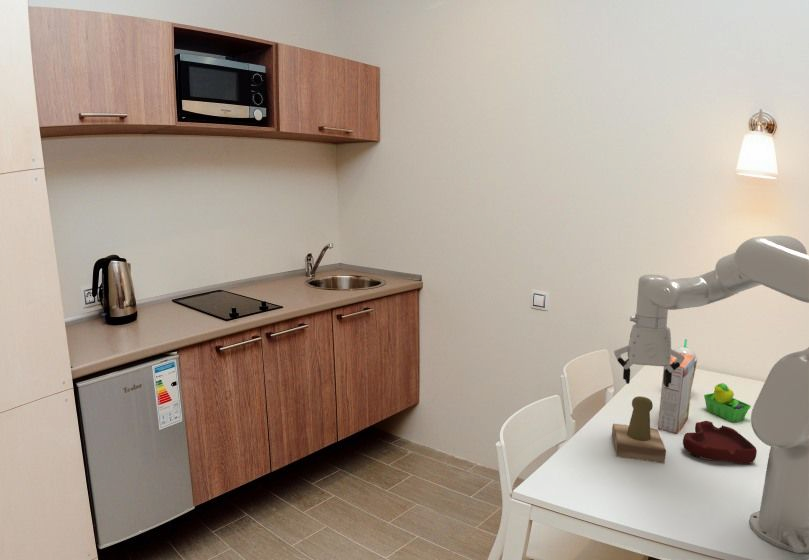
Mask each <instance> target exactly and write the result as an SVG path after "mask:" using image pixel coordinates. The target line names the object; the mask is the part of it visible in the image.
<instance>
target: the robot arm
mask: <svg viewBox="0 0 809 560" xmlns="http://www.w3.org/2000/svg"><path fill="white" fill-rule="evenodd" d="M637 284H638V285H637V298H636V300H637V301H636V313H635V315H633V316H629V321H630V322H633V323H634V324H633V325H632V327H631V331H630V334H629V340H628V345H626V346H624V347H620V348H618V349H615V350H613V354H614V357H615V358H616V360H617V362H618V364H620V366H622V367H623V373H622V379H623V380H625V383H626V384H627V385H629V384H630V381H631V368H630V367H632V365H640V366H649V367H650V366H652V367H653V366H654V367H664V366H665V367H666V369H665V370H664V369H663V371H664V381H663V380H662V381H663V383H664V385H665V386H666V387H669V383H671V378H672V373H673V372H674V370H676V369H677V368H678V367H679V366H680V364H681V363H682V362H683V360H684V359H685V357H684V356H683V355H681V354H679V353H678V352H676V351H674V350H675V349H672V337H671V335H672V334H671V329H670V327H668V324H667V323H668V313H669V310H671V311H675V310H683V309H690V308H699V307H703V306H706V305H710V304H713V303H716V302H719V301H722V300H725V299H727V298H730V297H732V296H735V295H736V294H739V293H741V292H744V291H746V290H749V289H752V288H756V287H758V286H761V285H762V286H764V287H765V288H766V287H767V288H769V289H771V290H773V291H776V292H778V293H780V294H783V295H785V296H787V297H790V298H792V299H794V300H798V301H800V302H804V303H806V304H809V255H808V251H807V249H806V247H805V245H804V244H803V243H802V242H801V241H800V240H798V239H797V238H795V237H793V236H789V235H771V236H770V235H769V236H767V235H766V236H757V237H752V238H749V239H746V240H745V241H743V242H742V243H741V244H740V245H739V246H738V247H737V249H736V250H735V252H733V253H730V254H727V255H725V256H723V257H721V258H719V259H718V260H717V262H716V264H715V267H714V270H711V271H708V272H705V273H704V274H700V275H698V276H693V277H684V278H683V277H681V278H675V279H673V278H672V279H669V277H668V276H665V275H660V274H643V275H641V276H640V277H639V278H638V283H637ZM626 353H627V358H626V359H625V360H624V358H623V357H622V356H621V355H623V354H626ZM671 355H672V356H674V357H676V358H677V359H676V361H675V362H673V363H672V364H671V365H670V362H671ZM750 424H751V428H752V430H753V433H754V434H755V436H756V437H757V438H758V439H759V440H760V442H762V443H763V444H765V445H766V446H769V447H770V449H769V453H768V458H767V464H766V471H765V476H764V484H763V489H762V496H761V502H760V509H759V510H757V511H754V512H752V513H751V514H750V517H749V526H750V528H751V529H752V530H753V532H754V533H755V534H756V535H757V536H759V537H760V538H761V539H763V540H764V541H766V542H768V543H769V544H772V545H774V546H776V547H778V548H781V549H783V550H788V551H790V552H794V553H796V554H803V553H805V554H806V553H808V554H809V346H808V347H806V349H803V350H800V351H799V350H798V351H796V352H792V353H789V354H786V355H784V356H783V357H781V358H780V359H779V360H777V362H776V363H775V364H774V365H773V366H772V368H771V369H770V370H769V373H768V374H767V377H766V379H765V380H764V383H763V385H762V388H761V390H760V392H759V393H758V397H757V398H756V400H755V402H754V404H753V407H752V411H751V415H750Z"/></svg>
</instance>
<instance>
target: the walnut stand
mask: <svg viewBox="0 0 809 560" xmlns="http://www.w3.org/2000/svg"><path fill="white" fill-rule="evenodd" d="M628 427H629V424H621V423H613V424H612V427H611V440H612V444H613V448H614V452H616V453H615V456H616V457H618V456H620V457H619V458H625V457H626V459H632V458H633V460H640V461H647V460H648V461H649V462H654V461H656V462H655V463H661V462H663V463H664V464H665V462H666V454H667V449H666V447H665V444H664V441H663V439H662V437H661V434H660V432H659V429H658V428H651V427H650V434H651V439H650V440H648V441H638V440H635V439H632V438H630V437H629V436H628V435H627V431H628ZM648 461H647V462H648Z"/></svg>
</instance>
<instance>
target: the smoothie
mask: <svg viewBox="0 0 809 560" xmlns="http://www.w3.org/2000/svg"><path fill="white" fill-rule="evenodd" d="M687 342H688V339H686V338H684V343H683V344H684V345H683V346H679V347H676V348H675V349H673V350H674V351H676V352H680V353H685V354H690V355H695V362H694V371H693V379H692V385H693V383H694V378H695V373H696V369H697V368H696V367H697V364H698V358H697V355H696V353H695V351H694V350H693V349H691V348H690V347H687V345H688V344H687ZM671 356H672V355H671ZM691 390H692V388H691Z"/></svg>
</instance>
